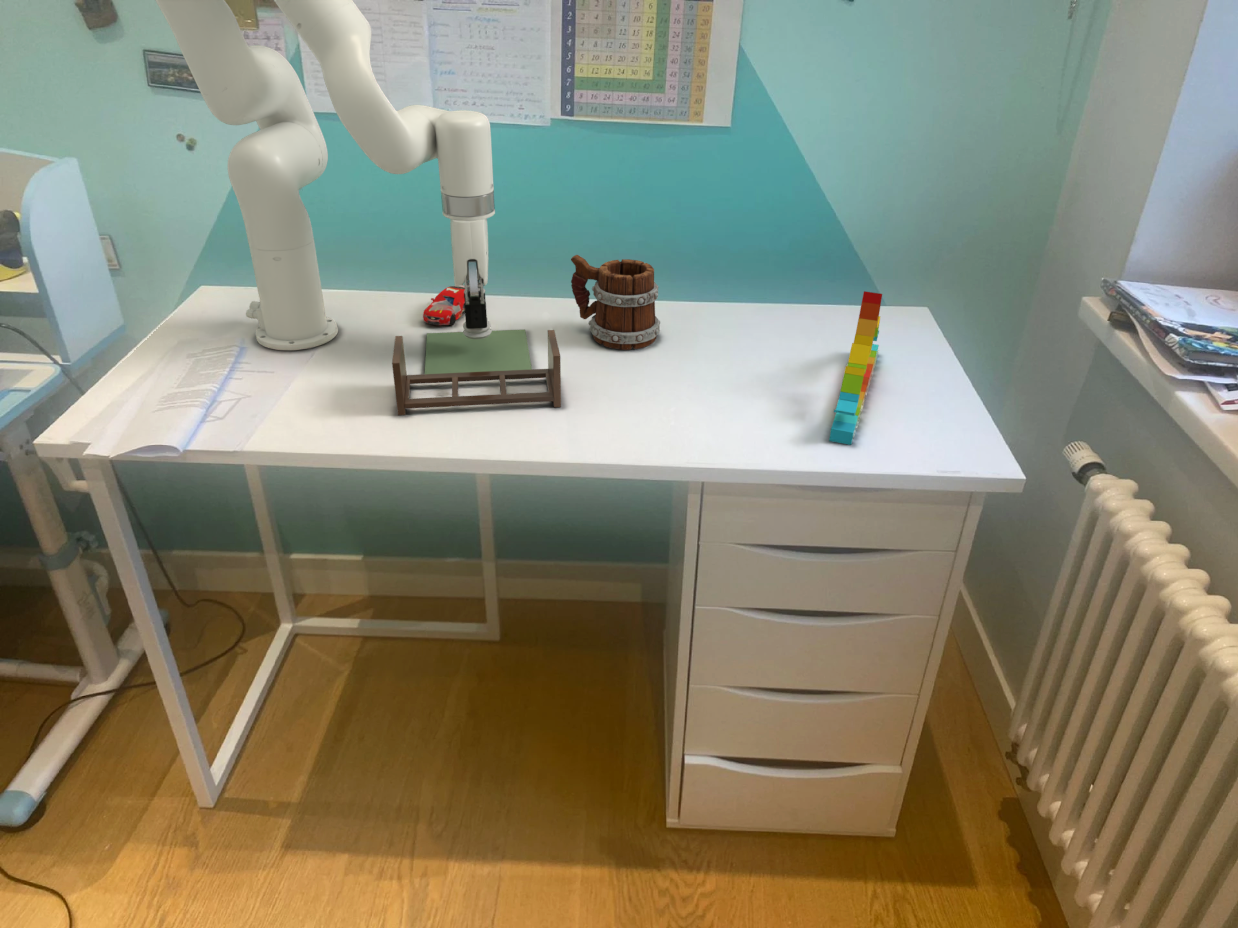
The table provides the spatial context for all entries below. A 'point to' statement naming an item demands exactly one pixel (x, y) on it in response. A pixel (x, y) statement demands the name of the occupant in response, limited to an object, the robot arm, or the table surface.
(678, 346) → the table surface
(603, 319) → the mug
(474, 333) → the rook chess piece
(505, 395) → the rack
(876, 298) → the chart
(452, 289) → the race car
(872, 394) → the table surface
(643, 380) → the table surface
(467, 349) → the mat
